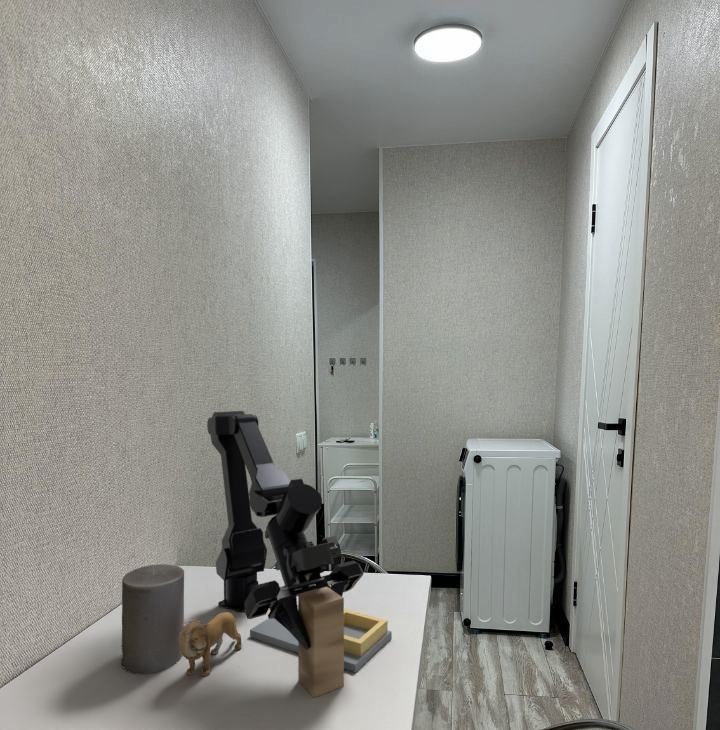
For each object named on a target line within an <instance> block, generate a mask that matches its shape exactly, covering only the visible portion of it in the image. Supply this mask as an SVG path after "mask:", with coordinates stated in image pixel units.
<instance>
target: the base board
mask: <svg viewBox="0 0 720 730" xmlns="http://www.w3.org/2000/svg"><path fill="white" fill-rule="evenodd" d="M297 608H298V604H297ZM388 623H389V621H388V619H384V618H380V617H376V616H372V615H368V614H365V613H361V612H357V611H355V610H354V611H353V610H351V609H346V608H344V670H347V671H349V672H353V673H356V672H357V671H358V670H360V669H361V668H362V667H363V666H364V665H365V664H366V663H367V662H368V661H369V660H370V659H371V658H372V657H374V656H375V655H376V654H377V653H378V652H379V651H380V650H381V649H382V648H384V646H385V645H386V644H387V643H388V642H389V641H390V640H392V638H393V637H392V635H393V634H392V633H393V632H392V631H391V630H388V629H389V628H388ZM249 637H250V638H254V639H255V640H258V641H262V642H266V643H268V644H271V645H272V646H273V645H274V646H276V647H279V648H282V649H285V650H288V651H291V652H295V653H297V654H298V641H297V640H296V638H295V637H294V636H293V635H292V634H291V633H290V632H289V631H288V630H287V629H286V628H285V627H284V626H282V625H281V624H280V623H279V622H278V621H277V620H275V619H274V618H272V619H269V618H267V619H265V620H264V621H262V622H260V623H259V624H257V625H256V626H254V627H252V628H250V629H249Z"/></svg>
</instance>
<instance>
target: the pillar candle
mask: <svg viewBox="0 0 720 730" xmlns="http://www.w3.org/2000/svg"><path fill="white" fill-rule="evenodd" d="M121 581H122V582H121V583H122V584H121V656H122V657H121V660H120V662H121V663H120V665H121V667H122V666H123V667H124V668H123V667H122V668H123V669H125V670H124V671H126V672H129V673H130V674H131V673H132V674H137V673H138V674H137V675H147V674H154V673H158V672H161V671H163V670H164V671H165V670H166V669H169V668H170V666H171V667H173V666H174V665H176V664H177V663H178V662H179V661H180V660H181V659H182V658H183V657H184V656H183V654H182V652H181V649H180V642H179V638H180V632H181V631H182V628H183V627H184V626H185V570H184V569H183V567H180V566H179V565H177V564H167V563H165V564H164V563H163V564H159V563H158V564H151V565H150V564H148V565H146V566H141V567H138V568H136V569H133V570H130V571H129V572H127V573H126V574H125V575H124V576H122V579H121ZM181 657H182V658H181ZM180 658H181V659H180ZM176 662H177V663H176ZM153 672H154V673H153ZM145 673H147V674H145Z"/></svg>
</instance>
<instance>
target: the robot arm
mask: <svg viewBox="0 0 720 730" xmlns="http://www.w3.org/2000/svg"><path fill="white" fill-rule="evenodd" d="M206 422H207V424H206V426H207V433H208V434H209V435H210V441H211V445H212V446H213V447H214V448H215V449H216V451H217V452H218V453H219V455H220V458H221V459H220V460H221V461H220V462H221V469H222V475H223V476H222V478H223V487H224V495H225V505H226V507H225V508H226V513H227V514H226V515H227V524H228V526H227V528H226V531H224V532H225V533H224V535H223V537H222V540H221V547H222V548H221V551H220V552H219V555H218V556H217V559H216V561H215V570H216V574H217V576H219V578H220V579H222V580H223V599H222V600H220V601H218V603H217V605H218V606H219V607H222V608H226V609H228V610H231V611H235V612H239V613H243V612H245V616H246V619H247V620H253V619H256V618H260V617H263V616H266V615H267V617H268V618H269V619H272V618H274V619H275V620H277V621H278V622H279V623H280V624H281V625H282V626H284V627H285V628H286V629H287V630H288V631H289V632H290V633H291V634H292V635H293V636H294V637H295V638H296V640H297V641H298V642H299V643H300V644H301V645H302V646H303V647H304V648H305V649H306V650H308V649H309V648H310V642H309V638H308V635H307V632H306V629H305V627H304V624H303V622H302V619H301V617H300V614H299V611H298V608H297V605H298V601H297V599H298V594H301V593H305V592H309V591H312V590H316V589H320V588H324V587H328V588H330V589H331V590H333V591H334V592H336V593H337V594H339V595H340V596H342V597H343V595H344V593H346V592H349V591H351V590H352V589H354V587H355V586H356V584H357V583H358V582H359V581H360V580H361V578H362V577H363V575H364V574H365V573H364V571H363V569H362V567H361V565H360V563H358V562H357V561H355V560H351V561H346V562H342V563H339V564H338V563H337V564H335V566H334V567H333V569H332V570H331V572H330V573H329V574H326V575H321V574H322V573H324V572H325V571H326V569H327V567H326V566H328V565H329V566H330V565H333V564H334V563H335V562H334V559H335V558H338V557H341V554H342V550H341V545H340V542H339V541H338V539H337V537H336V535H333V536H329V537H326V538H323V539H321V543H320V544H317V545H315V544H314V543H313V542H312V541H308V540H307V537H306V536H307V535H306V534H305V531H307V529H309V527H310V525H312V522H313V521H314V519H315V517H316V516H317V514H318V512H319V511H320V509H321V508H322V503H323V499H322V495H321V493H320V492H319V491H317V489H316V488H314V487H313V486H312V485H309V484H306V483H304V480H303V478H295V479H291V480H290V477H289V476H288V474H286V473H285V472H284V471H282V470H281V469H280V468H278V467H277V466H276V464H275V463H274V461H273V457H272V455H271V454H270V450H269V448H268V446H267V444H266V441H265V439H264V437H263V434H262V433H261V431H260V428H259V419H258V417H257V415H256V414H253V413H249V414H248V413H245V411H243V410H231V411H228V410H227V411H215V412H213V413H212V415H211V417H209V418H208V419H207V421H206ZM247 473H248V475H249V477H250V481H251V486H250V489H249V485H248V475H247ZM252 512H253V513H254V515H255V516H256V517H260V518H265V517H271V519H270V520H269V521H268V522H267V526H266V527H265V531H263V530H262V528H261V527H258V526H257V525H256V524H255V523H254V522H253V519H252V518H253V517H252ZM264 538H265V539H269V541H270V544H271V547H272V550H273V553H274V557H275V559H276V562H275V564H274V567H275V570H276V571H280V574H281V578H282V581H283V584H284V585H282V586H280V584H279V582H278V581H276V580H271V581H266V582H263V583H259V581H258V573H260V572H264V571H265V567H266V561H267V554H268V548H267V546H266V543H265V541H264ZM268 611H269V613H268ZM267 613H268V614H267ZM268 618H267V619H268Z"/></svg>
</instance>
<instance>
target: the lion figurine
mask: <svg viewBox="0 0 720 730" xmlns="http://www.w3.org/2000/svg"><path fill="white" fill-rule="evenodd" d="M236 621H237V620H236V618H235V616H234V614H233V613H231V612H228V611H226V612H220V613H218V614H217V615H215V616H214V617H213V618H212V619H211V620H210V621H209V622H207V623H204V622H202V621H198V620H192V621H189V622H188V623H186V624H184V627H183V628H182V631H181V632H180V638H179V642H180V649H181V652H182V654H183V656H182V657H183V658H185V659H186V660H188V665H189V668H187V669H186V674H187V676H192V675H193V674H194V673H195V671H196V661H198V660H199V659H201V657H202V661H203V662H202V672H201V675H202V676H203V677H208V676H210V675H211V667H210V658H211V655H216V654H218V653H219V650H220V649H221V646H222V644H223V641H224V640H223V635H224V634H225V635H226V636H228V637H229V638H230V639H232V640H235V641H236V644H235V645H234V646H233V648H234V650H235V651H239V650H241V649H242V647H243V645H242V636H241V633H239V631H238V629H237V622H236ZM213 646H214V648H212V647H213ZM211 648H212V649H211Z"/></svg>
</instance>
